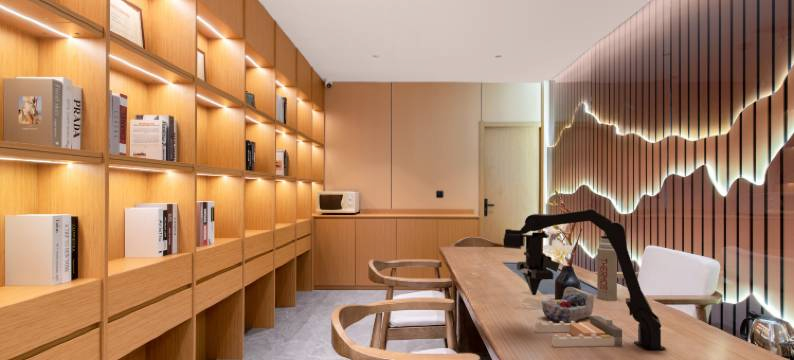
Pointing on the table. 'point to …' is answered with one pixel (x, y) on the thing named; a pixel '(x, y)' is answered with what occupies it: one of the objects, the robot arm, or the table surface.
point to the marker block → (584, 329)
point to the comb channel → (601, 322)
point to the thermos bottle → (606, 270)
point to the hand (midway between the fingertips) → (533, 294)
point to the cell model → (569, 306)
